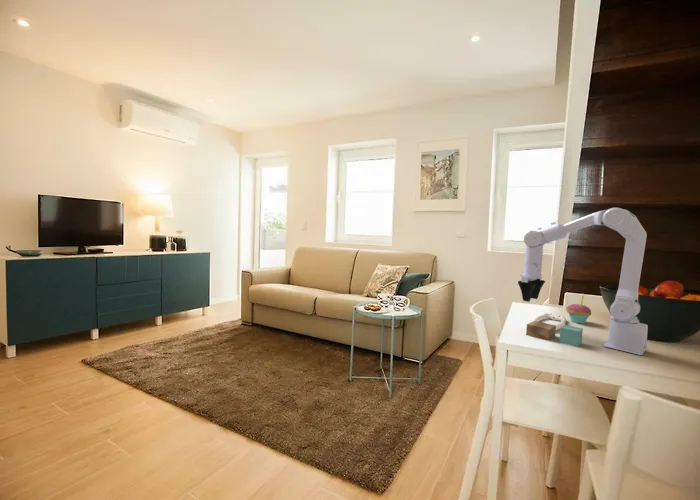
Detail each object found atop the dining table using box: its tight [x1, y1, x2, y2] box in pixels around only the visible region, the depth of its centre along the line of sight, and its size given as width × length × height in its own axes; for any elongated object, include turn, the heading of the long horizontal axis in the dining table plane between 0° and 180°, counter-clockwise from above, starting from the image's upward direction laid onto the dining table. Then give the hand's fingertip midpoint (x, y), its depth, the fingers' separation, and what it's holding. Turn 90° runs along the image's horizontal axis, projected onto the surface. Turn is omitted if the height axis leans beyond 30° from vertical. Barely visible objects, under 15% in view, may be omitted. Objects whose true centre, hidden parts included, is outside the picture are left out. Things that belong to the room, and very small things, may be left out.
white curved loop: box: [532, 312, 567, 332], centre depth 134 cm, size 3×10×25 cm
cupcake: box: [565, 293, 592, 325], centre depth 139 cm, size 9×8×12 cm
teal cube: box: [559, 324, 584, 347], centre depth 113 cm, size 5×5×5 cm
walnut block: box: [525, 321, 557, 341], centre depth 120 cm, size 7×7×4 cm
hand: (530, 299), depth 130 cm, fingers open, 7 cm apart
